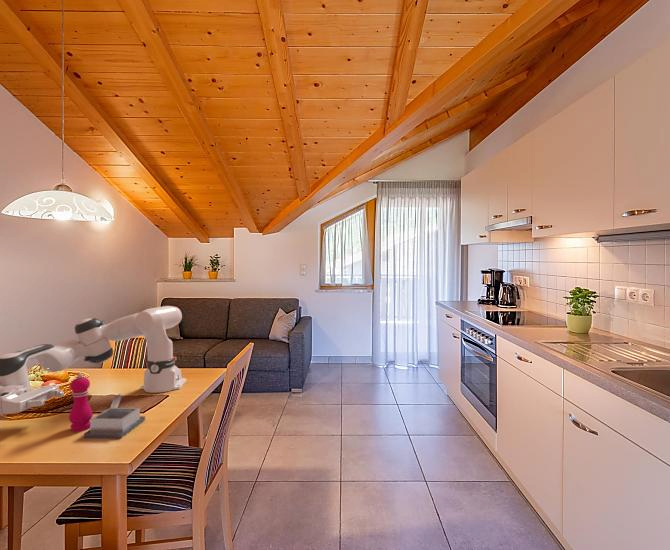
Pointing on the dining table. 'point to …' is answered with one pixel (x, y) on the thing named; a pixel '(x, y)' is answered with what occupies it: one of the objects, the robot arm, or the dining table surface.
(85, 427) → the pepper mill
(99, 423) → the socket stand
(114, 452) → the dining table surface
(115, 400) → the adjustable wrench
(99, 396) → the dining table surface
